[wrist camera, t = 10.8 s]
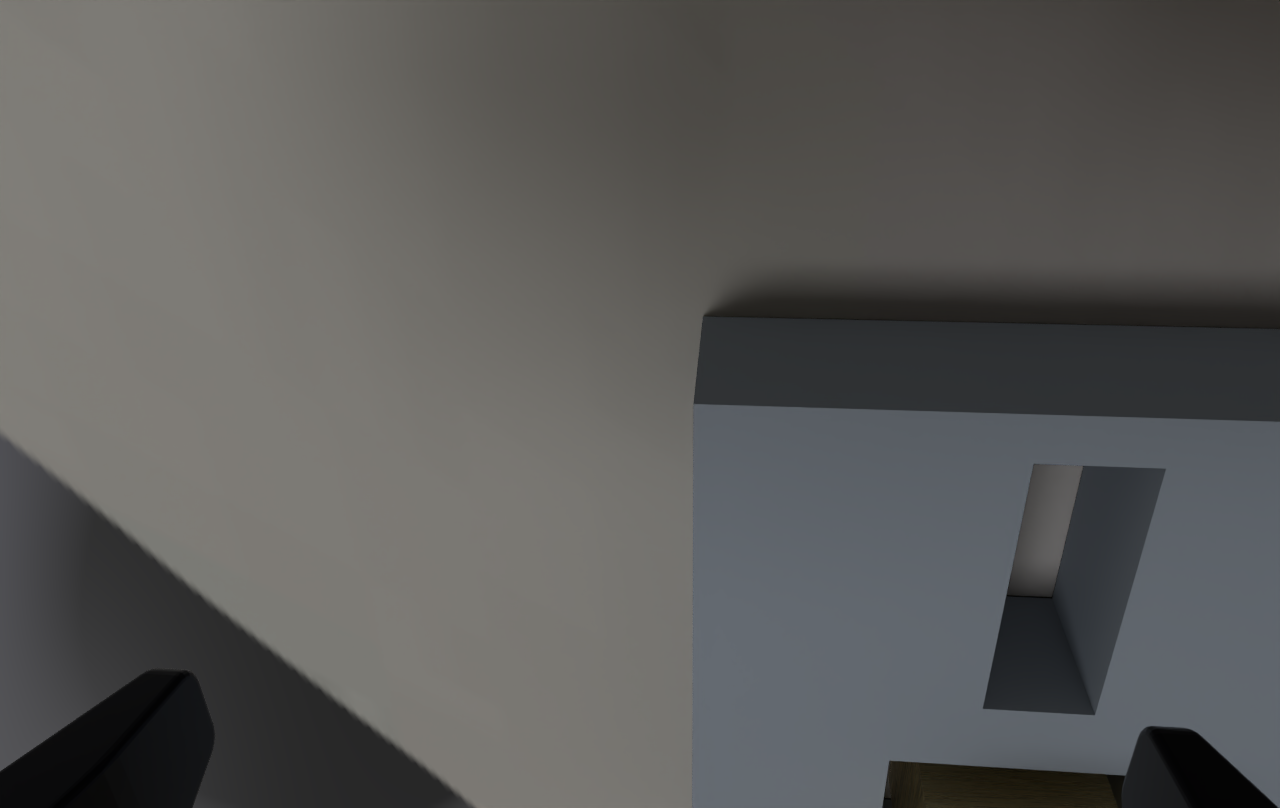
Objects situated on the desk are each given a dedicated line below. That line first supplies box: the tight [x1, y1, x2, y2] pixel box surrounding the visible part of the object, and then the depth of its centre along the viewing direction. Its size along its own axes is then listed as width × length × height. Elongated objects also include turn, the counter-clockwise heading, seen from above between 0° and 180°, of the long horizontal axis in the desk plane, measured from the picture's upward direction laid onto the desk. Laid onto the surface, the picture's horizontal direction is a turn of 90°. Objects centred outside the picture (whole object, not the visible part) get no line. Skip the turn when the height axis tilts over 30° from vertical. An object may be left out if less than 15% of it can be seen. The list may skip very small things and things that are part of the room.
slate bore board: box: [692, 317, 1280, 808], centre depth 23 cm, size 14×16×4 cm
